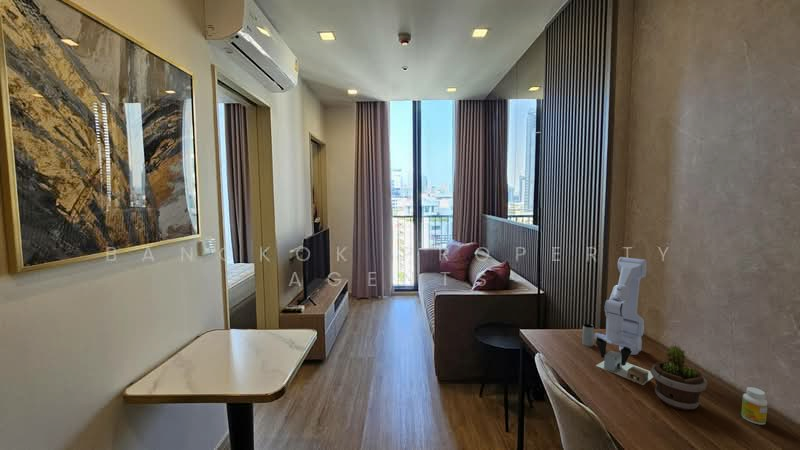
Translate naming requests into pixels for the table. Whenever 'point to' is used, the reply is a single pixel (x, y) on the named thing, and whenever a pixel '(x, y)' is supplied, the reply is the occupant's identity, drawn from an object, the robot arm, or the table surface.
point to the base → (624, 371)
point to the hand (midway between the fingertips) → (613, 360)
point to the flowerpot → (678, 381)
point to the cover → (638, 374)
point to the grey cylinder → (588, 335)
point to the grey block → (612, 361)
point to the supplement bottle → (754, 406)
